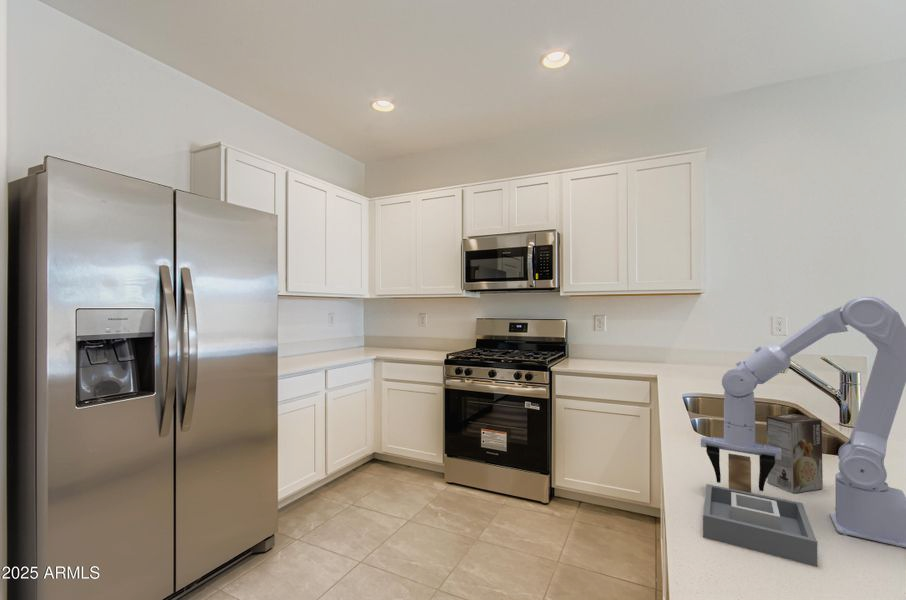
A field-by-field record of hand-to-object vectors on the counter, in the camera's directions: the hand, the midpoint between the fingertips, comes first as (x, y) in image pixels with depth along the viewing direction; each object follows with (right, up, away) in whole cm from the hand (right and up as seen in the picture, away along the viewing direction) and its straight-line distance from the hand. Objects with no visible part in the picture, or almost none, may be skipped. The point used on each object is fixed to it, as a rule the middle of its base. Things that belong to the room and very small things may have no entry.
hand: (739, 485), depth 93 cm
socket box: (-6, -3, -13) cm, 14 cm away
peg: (0, -3, 0) cm, 3 cm away
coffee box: (+17, -3, +7) cm, 19 cm away
